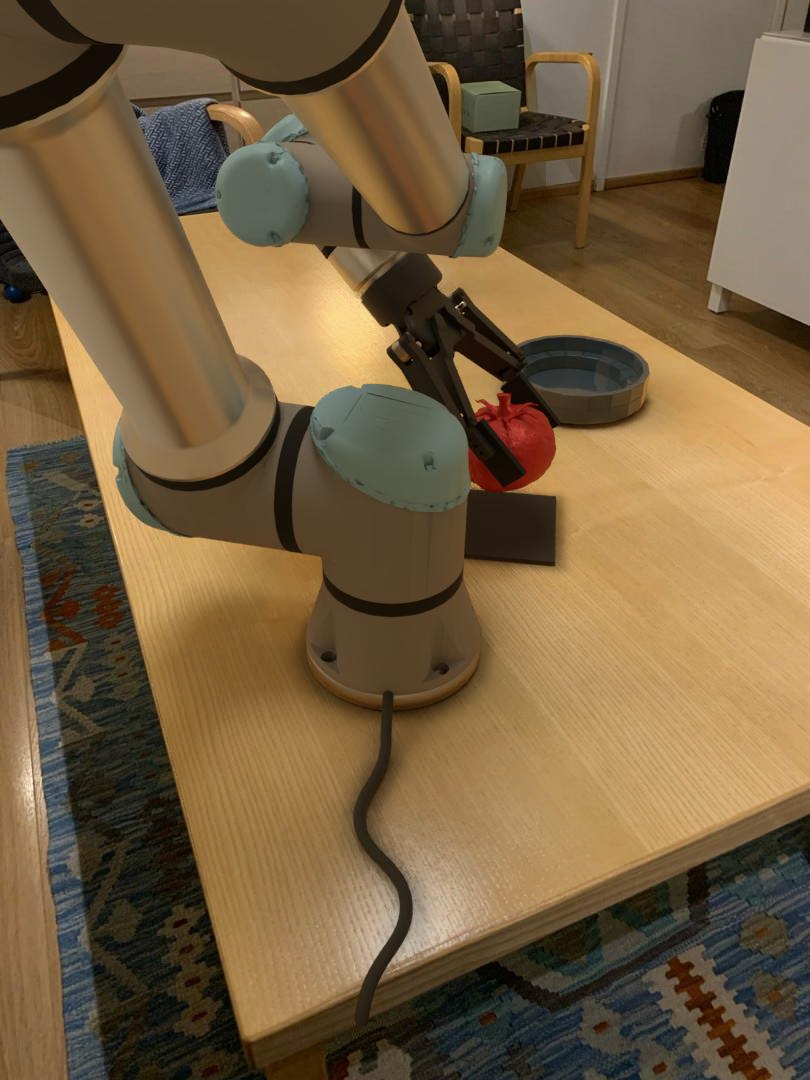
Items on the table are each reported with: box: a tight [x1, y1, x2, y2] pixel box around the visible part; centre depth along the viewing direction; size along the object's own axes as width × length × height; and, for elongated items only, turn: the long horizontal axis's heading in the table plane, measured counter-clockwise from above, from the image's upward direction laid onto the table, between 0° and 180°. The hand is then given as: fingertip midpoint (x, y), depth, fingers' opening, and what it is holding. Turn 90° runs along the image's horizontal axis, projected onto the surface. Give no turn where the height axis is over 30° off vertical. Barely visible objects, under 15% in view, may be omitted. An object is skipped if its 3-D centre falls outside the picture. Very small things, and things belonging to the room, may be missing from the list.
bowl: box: [502, 334, 651, 425], centre depth 116 cm, size 19×19×4 cm
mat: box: [464, 488, 557, 566], centre depth 92 cm, size 12×12×1 cm
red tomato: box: [468, 392, 557, 493], centre depth 86 cm, size 10×10×9 cm
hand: (533, 453), depth 86 cm, fingers closed on red tomato, 10 cm apart
